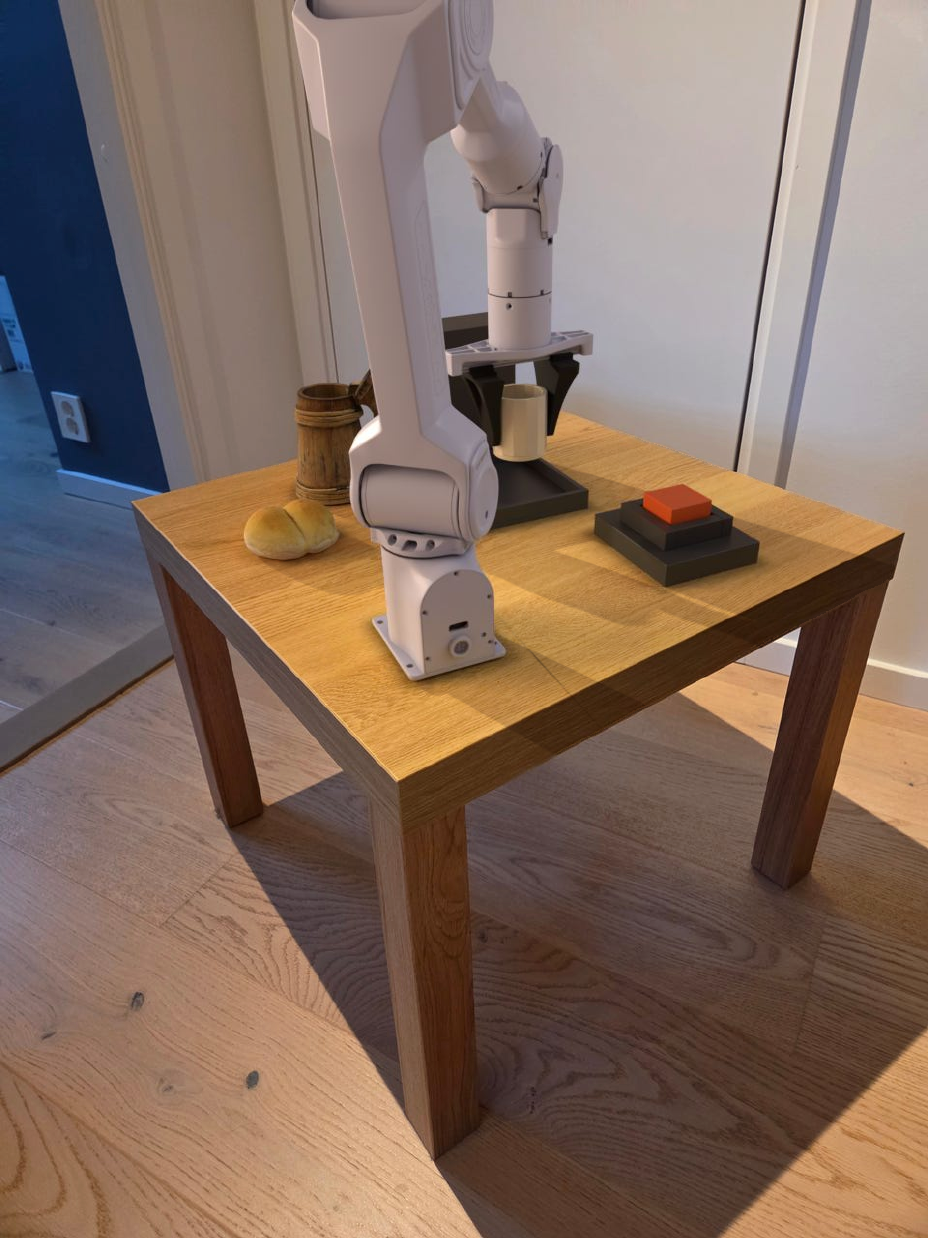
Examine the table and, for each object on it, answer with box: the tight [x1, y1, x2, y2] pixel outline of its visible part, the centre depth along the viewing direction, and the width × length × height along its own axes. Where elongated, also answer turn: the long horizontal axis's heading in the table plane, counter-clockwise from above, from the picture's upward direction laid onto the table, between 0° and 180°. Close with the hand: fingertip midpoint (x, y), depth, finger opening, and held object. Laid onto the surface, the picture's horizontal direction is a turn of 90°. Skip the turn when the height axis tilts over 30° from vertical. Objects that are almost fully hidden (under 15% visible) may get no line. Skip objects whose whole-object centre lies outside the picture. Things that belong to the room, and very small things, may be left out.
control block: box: [593, 497, 761, 588], centre depth 80 cm, size 12×10×4 cm
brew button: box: [643, 483, 713, 525], centre depth 78 cm, size 4×4×2 cm
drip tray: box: [489, 450, 590, 531], centre depth 92 cm, size 15×13×2 cm
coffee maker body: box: [441, 311, 517, 450], centre depth 97 cm, size 6×12×16 cm, turn 114°
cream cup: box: [492, 382, 548, 461], centre depth 82 cm, size 5×5×6 cm
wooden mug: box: [294, 368, 378, 506], centre depth 90 cm, size 9×14×18 cm, turn 82°
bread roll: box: [243, 498, 340, 561], centre depth 83 cm, size 8×9×4 cm
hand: (519, 437), depth 83 cm, fingers closed on cream cup, 5 cm apart
